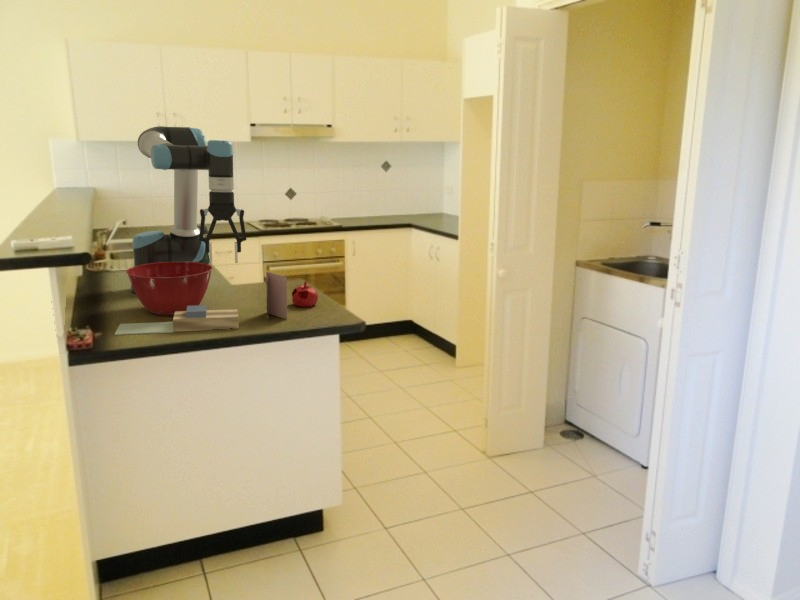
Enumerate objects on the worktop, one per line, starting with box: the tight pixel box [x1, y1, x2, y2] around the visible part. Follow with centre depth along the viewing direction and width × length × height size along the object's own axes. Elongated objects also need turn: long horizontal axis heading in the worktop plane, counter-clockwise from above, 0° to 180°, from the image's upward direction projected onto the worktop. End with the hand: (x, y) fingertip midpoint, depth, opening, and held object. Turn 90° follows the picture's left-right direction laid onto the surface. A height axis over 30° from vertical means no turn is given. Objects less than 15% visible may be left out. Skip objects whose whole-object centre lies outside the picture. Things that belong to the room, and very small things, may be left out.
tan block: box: [172, 308, 240, 333], centre depth 206 cm, size 10×20×4 cm, turn 106°
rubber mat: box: [114, 321, 175, 336], centre depth 201 cm, size 11×17×1 cm, turn 106°
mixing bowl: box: [125, 262, 213, 317], centre depth 221 cm, size 28×28×16 cm
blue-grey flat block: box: [186, 304, 208, 318], centre depth 204 cm, size 8×6×2 cm
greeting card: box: [263, 271, 288, 320], centre depth 218 cm, size 11×7×15 cm, turn 13°
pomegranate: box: [291, 280, 319, 308], centre depth 236 cm, size 10×10×9 cm
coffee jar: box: [197, 225, 211, 265], centre depth 305 cm, size 10×8×19 cm
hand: (223, 262), depth 203 cm, fingers open, 7 cm apart
